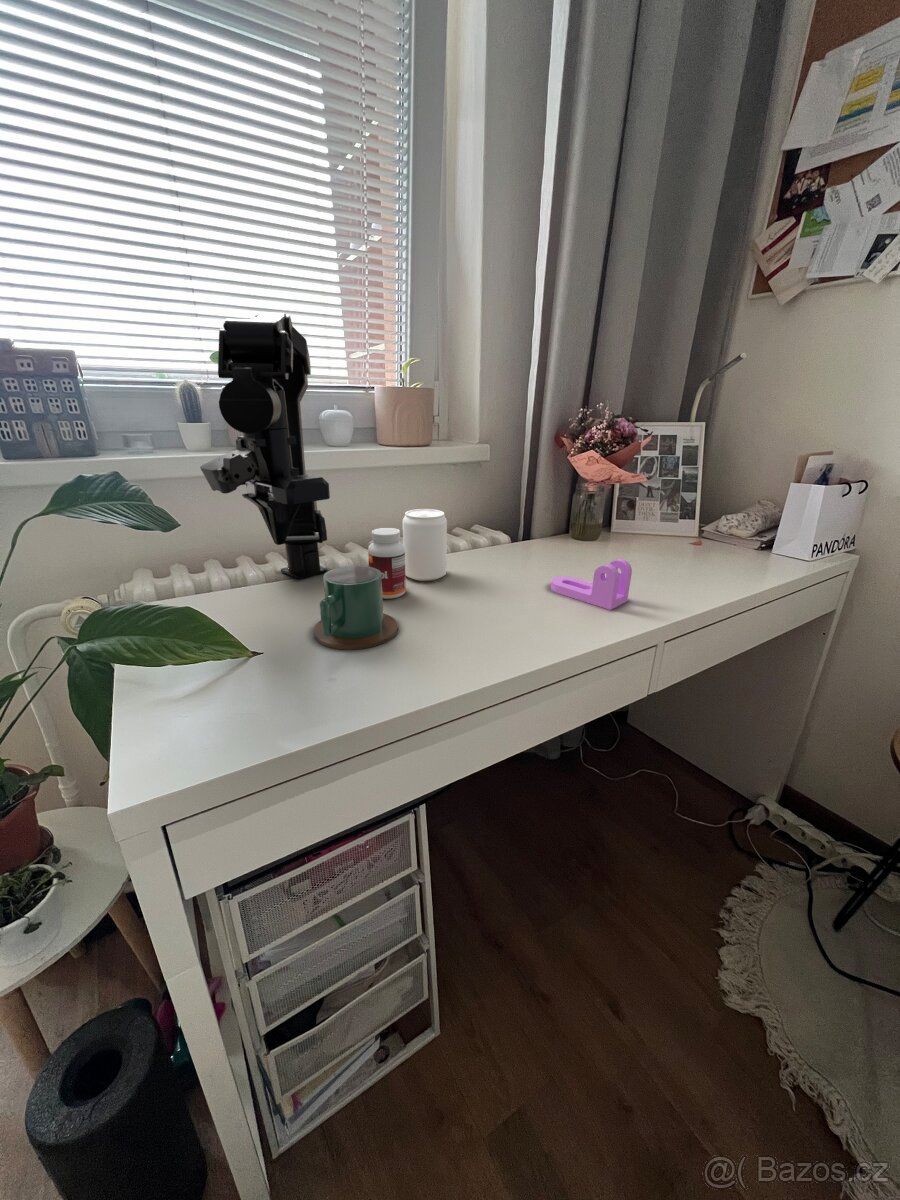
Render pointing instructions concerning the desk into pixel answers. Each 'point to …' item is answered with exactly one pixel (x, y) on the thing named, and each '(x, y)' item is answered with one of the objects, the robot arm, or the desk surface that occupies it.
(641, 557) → the desk surface
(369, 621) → the mug
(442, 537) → the beverage can
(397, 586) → the pill bottle
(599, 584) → the bracket
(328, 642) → the coaster
